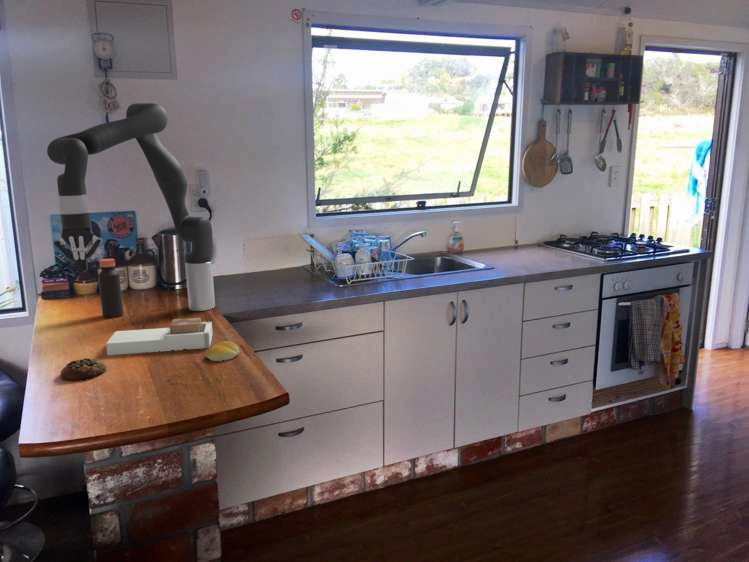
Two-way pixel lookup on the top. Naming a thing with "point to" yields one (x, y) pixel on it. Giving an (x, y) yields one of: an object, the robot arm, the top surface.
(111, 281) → the bottle
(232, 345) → the bread roll
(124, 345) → the ledge
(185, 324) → the block
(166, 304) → the top surface
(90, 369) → the bread roll
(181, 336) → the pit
